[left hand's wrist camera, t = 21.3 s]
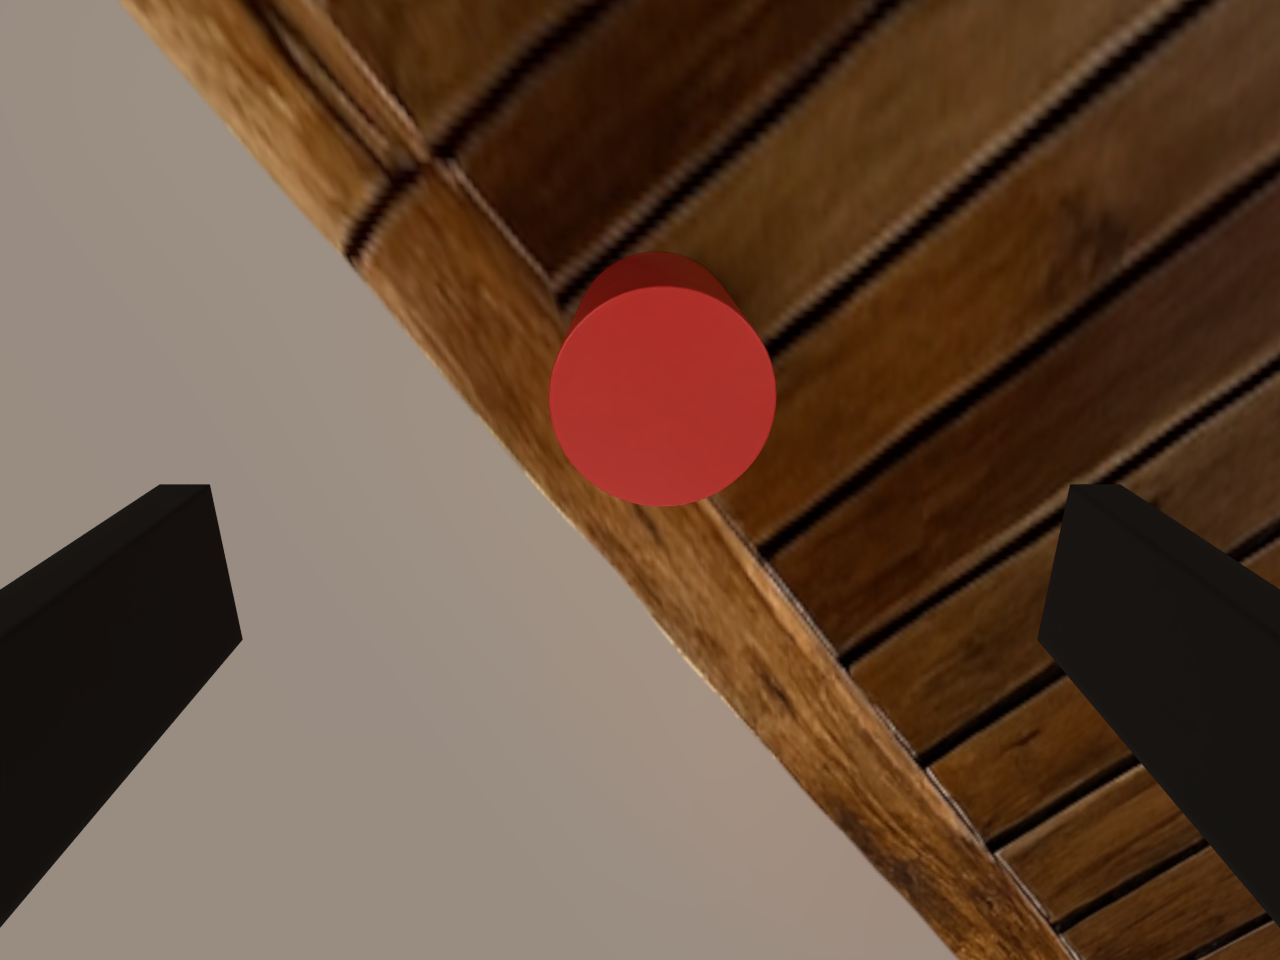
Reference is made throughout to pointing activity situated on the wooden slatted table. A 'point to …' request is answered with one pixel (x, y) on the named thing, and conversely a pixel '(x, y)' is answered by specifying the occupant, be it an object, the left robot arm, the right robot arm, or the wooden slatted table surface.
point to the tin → (661, 383)
